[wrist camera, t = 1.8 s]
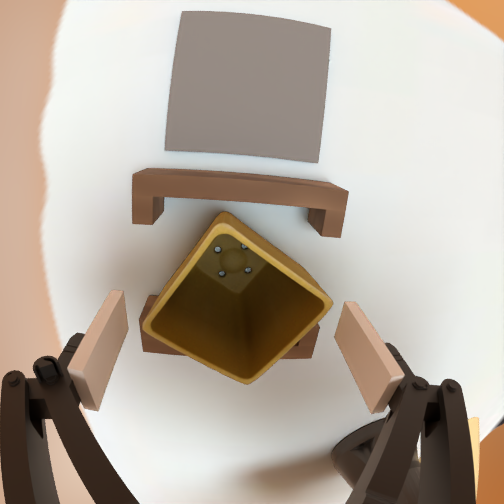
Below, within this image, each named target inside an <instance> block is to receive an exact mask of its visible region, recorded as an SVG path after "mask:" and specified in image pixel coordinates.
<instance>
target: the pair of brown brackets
mask: <svg viewBox="0 0 504 504" xmlns="http://www.w3.org/2000/svg"><path fill="white" fill-rule="evenodd" d="M348 193H349V191H347V190H345V189H342V188H340V187H338V186H336V185H334V184H332V183H328V182H321V181H313V180H305V179H297V178H288V177H279V176H269V175H259V174H248V173H236V172H222V171H206V170H187V169H160V168H147V169H144V170H142V171H139V172H137V173H134V174H133V176H132V224H145V225H153V224H154V222H155V221H156V220H157V219H158V217H159V216H160V215H161V214H162V213H163V211H164V197H174V198H194V199H210V200H226V201H240V202H252V203H265V204H276V205H287V206H297V207H307V208H310V209H309V215H308V222H309V223H310V224H311V225H312V226H313V228H314V229H315V230H316V231H317V232H318V233H319V234H320V235H321V236H324V237H336V238H340V237H341V232H342V227H343V222H344V216H345V211H346V205H347V199H348ZM158 297H159V296H152V295H149V297H148V299H147V301H146V304H145V306H144V309H143V311H142V313H141V316H140V318H139V324H140V332H141V339H142V347H143V352H151V353H161V354H171V355H183V356H187V355H185V354H183V353H181V352H179V351H177V350H176V349H174V348H172V347H170V346H168V345H166V344H165V343H163V342H161V341H159V340H157V339H156V338H154V337H152V336H151V335H149V334H148V333H146V332H145V331H144V330H143V329H142V325H143V322H144V320H145V319H146V317H147V315H148V314H149V312H150V310H151V308H152V307H153V305H154V303H155V302H156V300H157V298H158ZM319 329H320V327H319V325H318V323H317V324H316V325H315V326H314V327H313V328H312V329H311V330H310V331H308V333H307V334H306V335H305V336H304V337H302V338H301V339H300V340H299V341H298V342H297V343H296V344H295V345H294V346H293V347H292V348H291V349H290V350H289V351H288V352H287V353H286V354H285V355H283V356H282V357H281V358H280V359H306V358H312V354H313V351H314V347H315V343H316V340H317V336H318V332H319Z"/></svg>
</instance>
